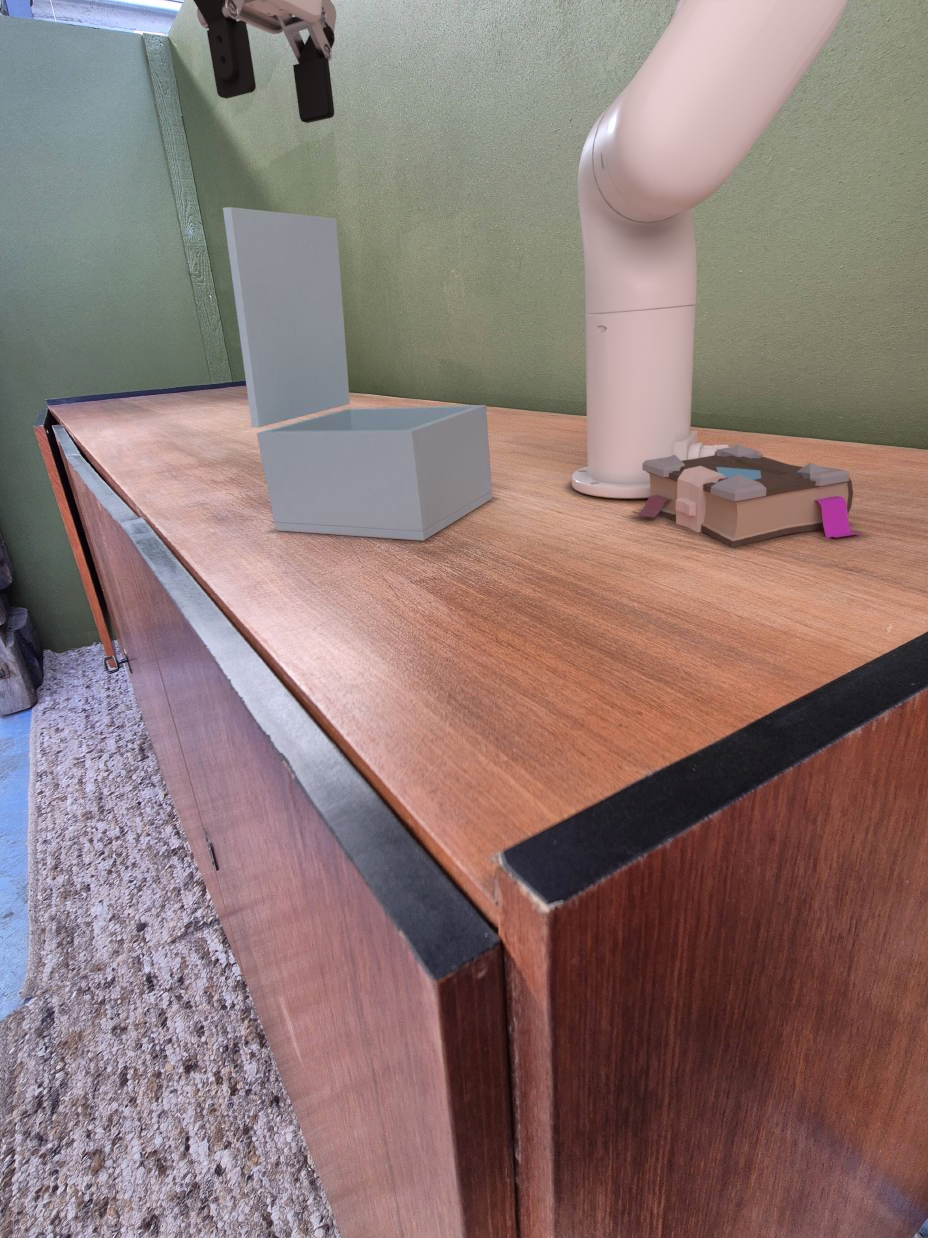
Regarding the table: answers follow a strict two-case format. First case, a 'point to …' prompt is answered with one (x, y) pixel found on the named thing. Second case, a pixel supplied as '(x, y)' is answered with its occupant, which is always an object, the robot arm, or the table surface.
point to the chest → (378, 470)
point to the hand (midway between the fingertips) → (280, 107)
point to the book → (748, 496)
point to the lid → (288, 312)
